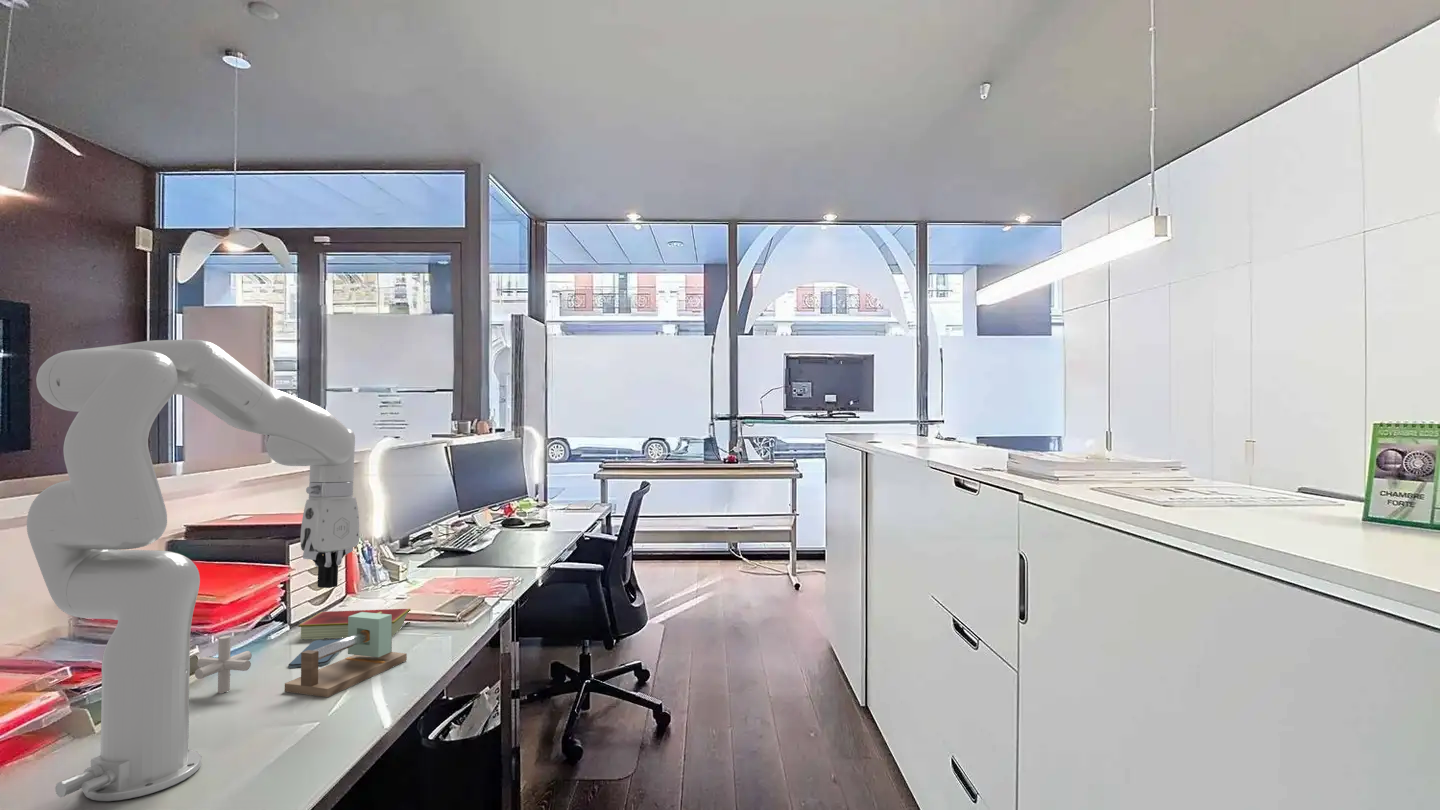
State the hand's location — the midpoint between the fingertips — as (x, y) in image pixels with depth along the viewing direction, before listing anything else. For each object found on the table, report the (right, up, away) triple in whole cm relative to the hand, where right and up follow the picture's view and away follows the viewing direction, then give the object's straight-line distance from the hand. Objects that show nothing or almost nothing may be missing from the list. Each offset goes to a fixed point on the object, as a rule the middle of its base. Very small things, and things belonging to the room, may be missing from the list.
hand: (327, 586), depth 133 cm
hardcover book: (-11, -20, +33) cm, 40 cm away
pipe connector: (-16, -18, -5) cm, 25 cm away
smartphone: (-10, -19, +15) cm, 27 cm away
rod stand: (+3, -18, +3) cm, 19 cm away
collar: (+4, -16, +8) cm, 18 cm away
